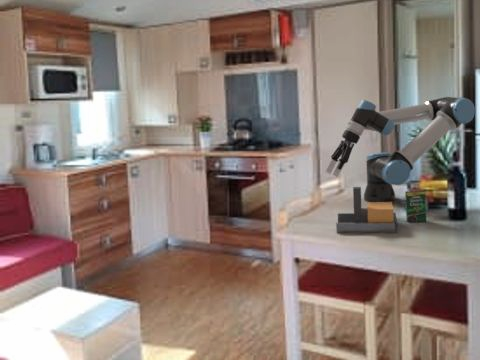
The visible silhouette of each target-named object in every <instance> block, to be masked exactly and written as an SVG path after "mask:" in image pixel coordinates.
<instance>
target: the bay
mask: <svg viewBox="0 0 480 360" xmlns="http://www.w3.org/2000/svg"><path fill="white" fill-rule="evenodd" d="M393 218H394V222H385V223H368V216H362V217H354V212H344V213H342V212H341V213H340V212H339V213H338V212H337V222H336V223H335V224H336V225H335V226H336V228H335V229H336V233H337V234H398V233H399V226H398V225H399V222H398V218H397V214H396V212H393Z"/></svg>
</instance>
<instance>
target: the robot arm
mask: <svg viewBox="0 0 480 360" xmlns="http://www.w3.org/2000/svg"><path fill="white" fill-rule="evenodd" d="M376 109H377V106H376V104H375V103H373V102H371V101H368V100H367V99H366V100H365V99H362V100H361V101H360V102H359V103H358V105H357V106H356V109H355V110H354V113H353V115H352V116H351V118H350V120H349V121H348V122H347V126H346V129H345V130H344V131H343V133H342V136H341V137H342V138H343V139H344V140H341V141H340V143H339V145H337V148H336V149H335V151H334V152H333V154H332V155H331V160H330V161H329V162H328V165H327V167H326V168H325V170H324V171H325V173H328V174H329V175H331V174H332V175H333V176H335V177H337V178H339V175H340V173H341V172H342V170H343V168H344V166H345V164H347V163H348V162H349V159H350V157H351V153H352V150H353V148H354V147H355V144H357V143H358V142H359V140H360V138H361V137H360V136H362V135H363V133H364V131H365V130H368V131H373V132H377V133H379V134H380V135H383V136H384V137H385V136H389V135H390V134H391V133H392V132H393V130H394V128H395V125H401V124H406V123H414V122H419V121H423V120H426V121H428V122H429V121H431V122H429V124H428V125H426V126H425V127H424V128H423V129H422V130H421V131H420V132H419V133H418V134H417V135H416V136H415V137H414V138H413V139H411V140H410V141H409V142H408V143H407V144H406V145H404V147H403V148H402V149H401V150H395V151H393V153H391V152H374V153H369V154H367V155H366V161H365V163H366V187H365V190H364V193H363V200H364V201H366V202H392V201H395V200H396V193H395V189H394V187H393V185H395V186H399V185H403V184H404V183H406V182H407V181H408V179H410V176H411V175H410V174H411V172H412V171H413V169H414V164H415V163H416V162H418V160H419V159H421V157H423V156H424V155H425V154H426V153H427V152H428V151H429V150H430V149H431V148H433V146H435V144H437V142H439V141H440V140H441V139H442V138H443V137H444V136H445V135H446V134H447V133H448V132H449V131H455V130H456V129H458V128H459V127H460V126H461V125H462V124H468V123H470V122H471V121H472V120H473V119H474V116H475V114H476V113H475V111H476V109H475V105H474V102H473V101H472V100H470V99H469V98H466V97H462V96H461V97H455V96H454V97H452V96H445V97H440V98H436V99H432V100H426V101H424V102H423V103H421V104H415V105H410V106H405V107H399V108H393V109H387V110H381V111H377V110H376Z"/></svg>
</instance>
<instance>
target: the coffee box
mask: <svg viewBox="0 0 480 360" xmlns="http://www.w3.org/2000/svg"><path fill="white" fill-rule="evenodd" d="M426 197H427V196H426V191H425V189H423V190H408V191H405V217H406V219H405V220H406V222H407V223H424V222H427V201H426V200H427V199H426Z"/></svg>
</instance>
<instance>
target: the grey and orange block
mask: <svg viewBox="0 0 480 360" xmlns="http://www.w3.org/2000/svg"><path fill="white" fill-rule="evenodd" d="M352 192H353V194H352V195H353V213H354V217H362V216H368V223H385V222H394V218H393V213H394V206H393V202H392V201H389V202H369V201H366V202H367V206H366V207H367V208H365V207H364V208H362V187H361V186H353V187H352Z"/></svg>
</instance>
